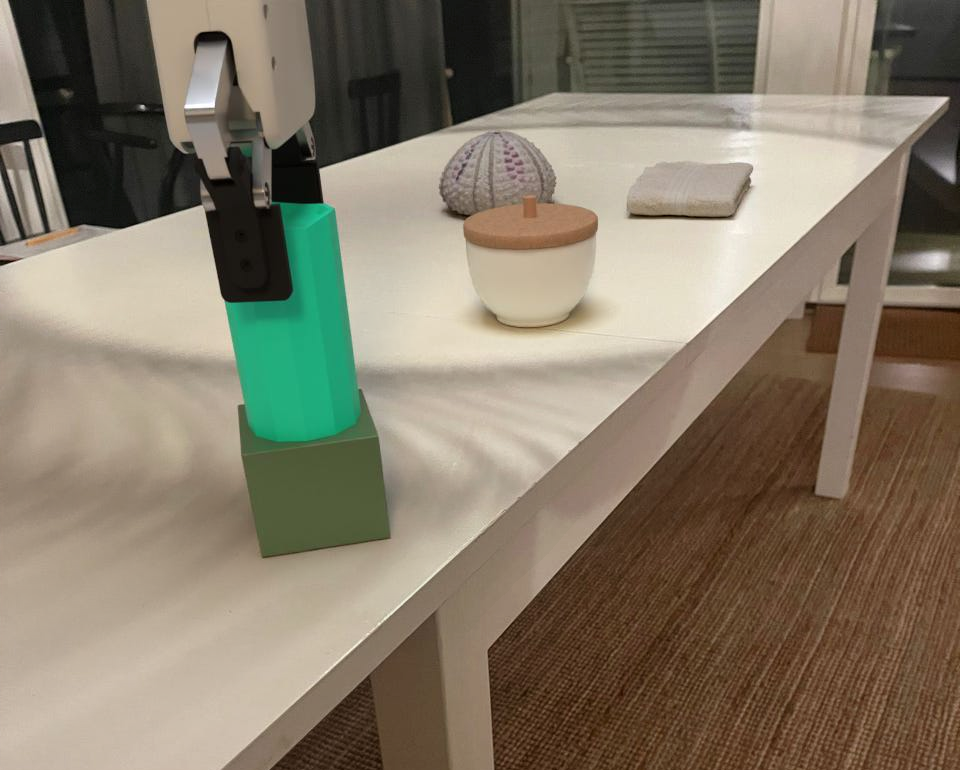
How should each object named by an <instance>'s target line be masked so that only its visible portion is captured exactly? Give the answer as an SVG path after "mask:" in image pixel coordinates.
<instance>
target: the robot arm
mask: <svg viewBox="0 0 960 770" xmlns="http://www.w3.org/2000/svg"><path fill="white" fill-rule="evenodd" d="M145 1H146V7H147V13H148V20H149V26H150V33H151V38H152V45H153V50H154V51H153V52H154V57H155V63H156V69H157V77H158V81H159V87H160V93H161V100H162V105H163V111H164V116H165V121H166V127H167V132H168V136H169V140H170V141H171V143H172V144H173V145H174V147H175V148H176V149H178V150H179V151H180V152H181V153H183V154H186V155H187V154H195V156H194V157H193V160H194V162H193V169H194V171H195V173H196V174H198V176H199V179H200V180H199V182H200V185H199V193H200V201H201V204H202V207H203V209H204V215H205V220H206V224H207V229H208V234H209V239H210V244H211V251H212V256H213V261H214V265H215V266H214V267H215V271H216V276H217V281H218V286H219V292H220V296H221V298H222V299H223V301H224V300H225V301H226V302H229V303H239V302H263V301H284V300H287V299H289V297H290V296H291V294H292V292H293V285H292V278H291V272H290V265H289V259H288V252H287V246H286V239H285V233H284V226H283V220H282V213H281V207H280V204H271V200H272V202H282V203H296V204H325V202H324V195H323V193H324V192H323V186H322V180H321V179H322V178H321V172H320V165H319V160H316V156H317V155H316V142H315V137H314V134H313V131H312V128H311V124H310V120H311V119H312V117H313V116H314V114H315V111H316V89H315V88H316V87H315V86H316V85H315V76H314V75H315V74H314V63H313V55H312V46H311V39H310V38H311V37H310V31H309V23H308V15H307V6H306V1H305V0H145ZM247 157H251V169H250V167H249V165H248V162H247V161H248V160H247Z"/></svg>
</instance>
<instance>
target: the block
mask: <svg viewBox="0 0 960 770" xmlns="http://www.w3.org/2000/svg"><path fill="white" fill-rule="evenodd" d="M358 392H359V400H360V408H361V414H360V416H359V418H358V420H357V422H356V424H355V425H353V426H351V427H349V428H347V429H346V430H344V431H342V432H340V433H338V434H336V435H333V436H328V437H324V438H320V439H315V440H311V441H296V442H277V441H273V440H269V439H265V438H262V437H258V436H256V435H255V434H254V432H253V431H252V430H251V428H250V427H249V425H248V420H247V414H246V409H245V404H244V403H242V404H238V405H237V417H238V431H239V442H240V456H241V461H242V465H243V466H242V467H243V471H244V476H245V481H246V487H247V491H248V495H249V496H248V497H249V501H250V506H251V510H252V515H253V521H254V526H255V530H256V531H255V532H256V535H257V540H258V545H259V551H260V556H261V557H262V558H267V557H268V558H269V557H275V556H280V555H281V556H282V555H288V554H293V553H300V552H306V551H313V550H318V549H319V550H320V549H325V548H333V547H339V546H346V545H351V544H357V543H358V544H359V543H363V542H372V541H377V540H384V539H390V538H391V530H390V522H389V521H390V520H389V513H388V503H387V495H386V488H385V478H384V469H383V462H382V453H381V452H382V451H381V443H380V435H379V433H378V431H377V428H376V425H375V422H374V418H373V417H372V414H371V411H370V408H369V406H368V402H367V400H366V397H365V394H364V391H363V389H362V388H358Z"/></svg>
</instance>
